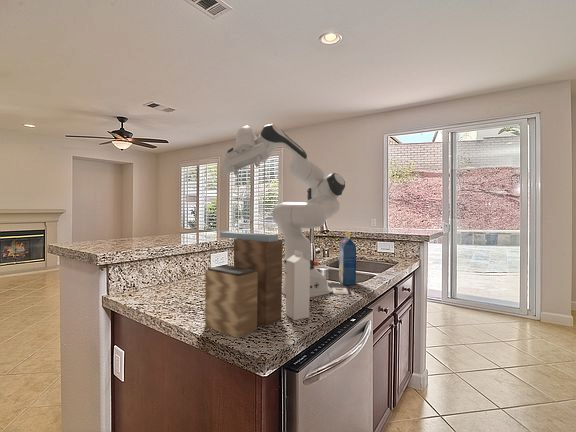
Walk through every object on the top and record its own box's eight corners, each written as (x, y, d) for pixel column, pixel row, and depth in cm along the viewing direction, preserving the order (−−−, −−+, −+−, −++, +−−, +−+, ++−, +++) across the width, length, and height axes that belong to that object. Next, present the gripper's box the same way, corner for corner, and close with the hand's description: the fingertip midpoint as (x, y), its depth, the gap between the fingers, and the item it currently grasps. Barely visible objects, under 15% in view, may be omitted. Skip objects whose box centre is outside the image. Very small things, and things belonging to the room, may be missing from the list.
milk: (293, 320, 102) (294, 253, 102) (285, 314, 108) (285, 250, 107) (309, 317, 105) (310, 252, 104) (300, 311, 111) (301, 249, 110)
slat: (220, 237, 110) (220, 232, 110) (229, 236, 114) (229, 231, 113) (269, 242, 97) (269, 236, 97) (277, 240, 101) (278, 235, 101)
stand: (233, 317, 104) (233, 239, 104) (249, 310, 111) (250, 237, 110) (265, 327, 96) (266, 242, 95) (281, 319, 103) (282, 240, 102)
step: (205, 326, 96) (205, 268, 95) (224, 319, 103) (224, 264, 102) (238, 338, 88) (238, 274, 87) (257, 329, 94) (257, 269, 94)
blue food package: (342, 286, 147) (343, 233, 147) (338, 280, 159) (339, 231, 159) (355, 286, 147) (357, 233, 147) (350, 280, 159) (351, 231, 159)
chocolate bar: (346, 283, 151) (351, 293, 133) (346, 285, 151) (351, 295, 133) (327, 282, 151) (330, 293, 133) (327, 284, 151) (330, 295, 133)
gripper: (270, 147, 137) (273, 166, 127) (229, 164, 141) (228, 183, 131) (264, 135, 133) (266, 154, 123) (222, 153, 136) (220, 172, 127)
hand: (246, 169), depth 127 cm, fingers open, 8 cm apart
